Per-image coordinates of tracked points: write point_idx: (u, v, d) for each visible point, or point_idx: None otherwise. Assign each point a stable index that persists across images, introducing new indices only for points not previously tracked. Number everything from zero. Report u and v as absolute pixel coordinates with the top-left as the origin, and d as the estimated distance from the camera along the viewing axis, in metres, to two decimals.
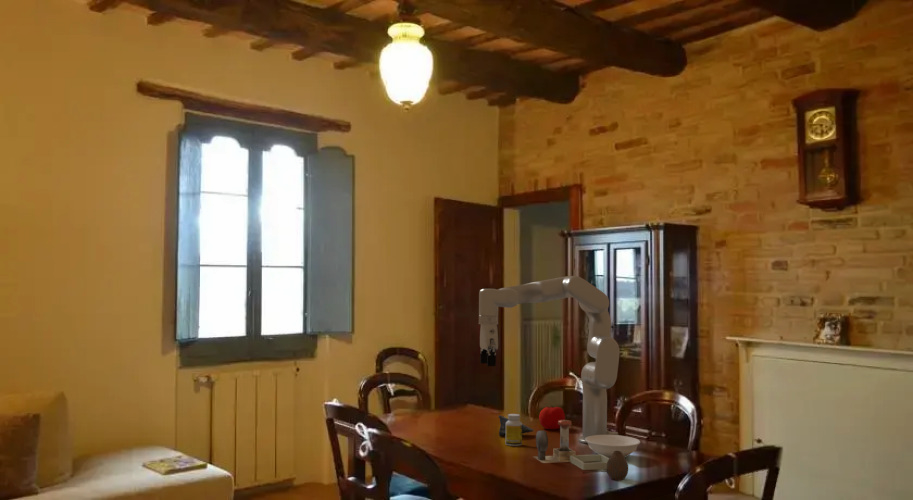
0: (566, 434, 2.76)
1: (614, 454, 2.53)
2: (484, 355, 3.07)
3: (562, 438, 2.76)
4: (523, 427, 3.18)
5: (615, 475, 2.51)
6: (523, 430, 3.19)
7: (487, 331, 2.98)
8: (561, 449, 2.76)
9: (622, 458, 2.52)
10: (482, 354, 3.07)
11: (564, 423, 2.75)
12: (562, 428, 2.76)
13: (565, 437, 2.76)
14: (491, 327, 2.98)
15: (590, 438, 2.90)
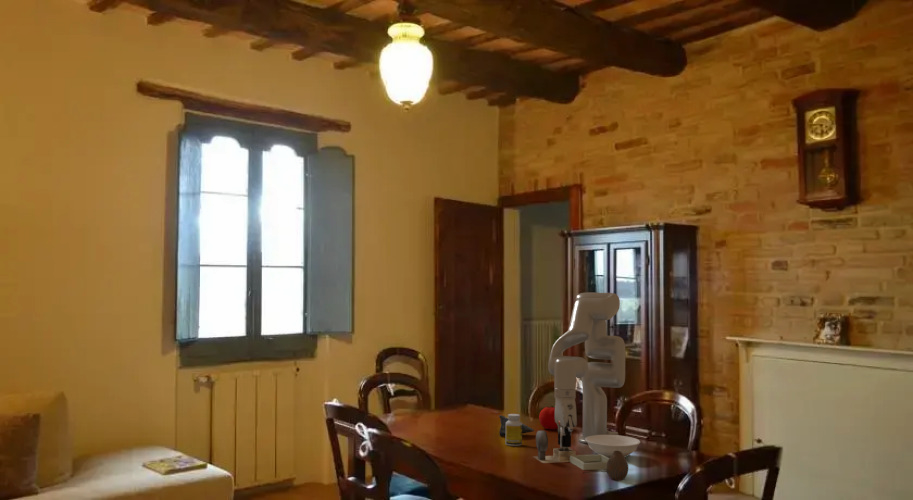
0: None
1: (614, 454, 2.53)
2: None
3: None
4: (523, 427, 3.19)
5: (615, 475, 2.51)
6: (523, 430, 3.19)
7: (565, 406, 2.73)
8: (561, 449, 2.76)
9: (622, 458, 2.52)
10: None
11: None
12: (562, 428, 2.76)
13: None
14: (569, 402, 2.73)
15: (590, 438, 2.90)
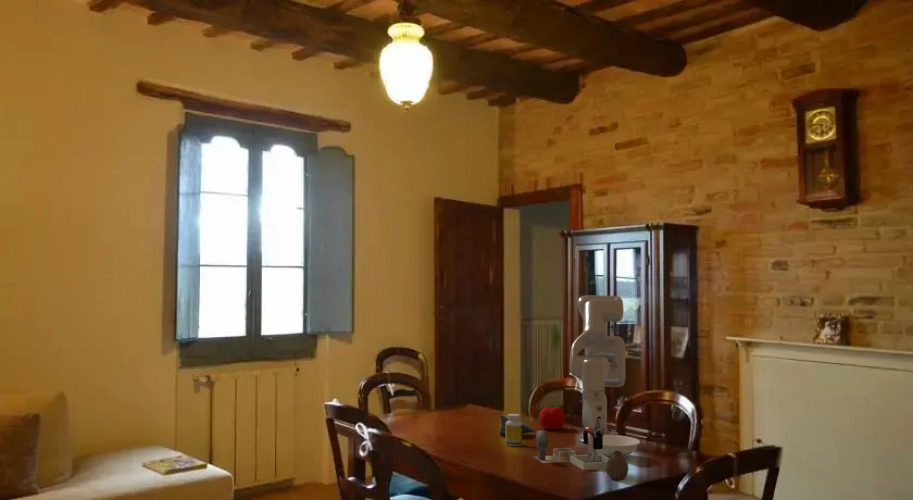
0: None
1: (614, 454, 2.53)
2: None
3: (590, 445, 2.67)
4: (524, 427, 3.19)
5: (615, 475, 2.51)
6: (524, 430, 3.19)
7: (594, 408, 2.64)
8: (589, 456, 2.67)
9: (622, 458, 2.52)
10: (585, 434, 2.72)
11: (592, 430, 2.66)
12: (590, 435, 2.67)
13: None
14: (598, 404, 2.64)
15: None
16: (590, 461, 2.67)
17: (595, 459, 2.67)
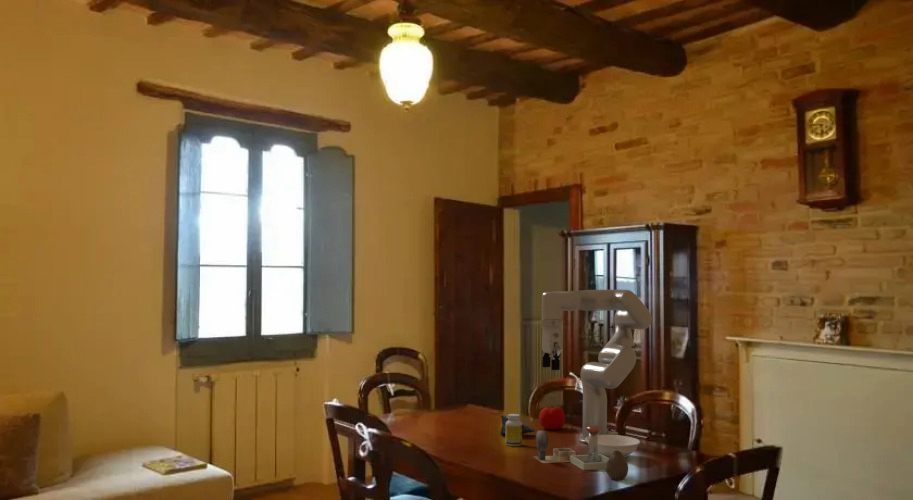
0: (595, 441, 2.67)
1: (614, 454, 2.53)
2: (546, 359, 3.04)
3: (591, 445, 2.67)
4: (524, 427, 3.19)
5: (615, 475, 2.51)
6: (524, 430, 3.19)
7: (551, 335, 2.96)
8: (589, 456, 2.67)
9: (622, 458, 2.52)
10: (544, 358, 3.04)
11: (593, 429, 2.66)
12: (591, 435, 2.67)
13: (594, 444, 2.66)
14: (555, 331, 2.96)
15: None
16: (590, 461, 2.67)
17: (595, 459, 2.67)
